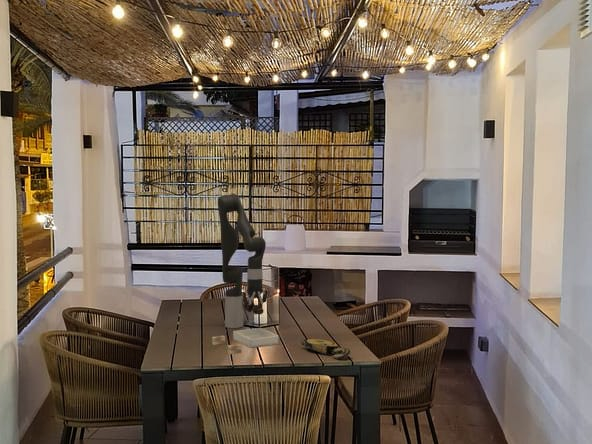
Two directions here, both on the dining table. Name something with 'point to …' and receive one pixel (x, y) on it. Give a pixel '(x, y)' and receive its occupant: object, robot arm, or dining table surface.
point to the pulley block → (326, 348)
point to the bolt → (254, 308)
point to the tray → (256, 337)
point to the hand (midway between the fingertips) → (254, 311)
